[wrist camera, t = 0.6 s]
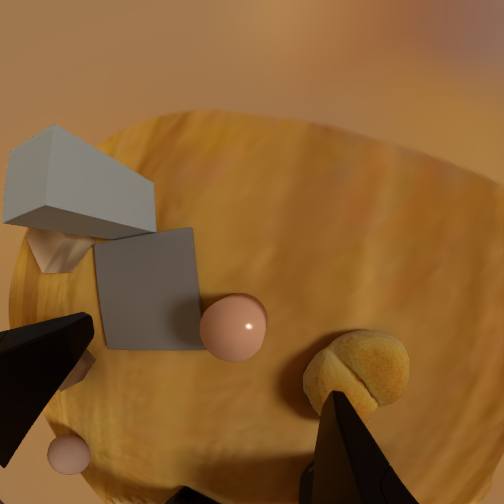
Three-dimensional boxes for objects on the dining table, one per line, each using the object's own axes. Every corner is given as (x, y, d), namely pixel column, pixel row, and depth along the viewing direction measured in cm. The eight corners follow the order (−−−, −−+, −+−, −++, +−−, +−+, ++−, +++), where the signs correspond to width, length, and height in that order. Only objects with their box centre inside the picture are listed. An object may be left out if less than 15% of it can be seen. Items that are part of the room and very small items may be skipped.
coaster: (207, 347, 22) (205, 349, 22) (111, 347, 23) (107, 348, 23) (192, 228, 23) (190, 227, 22) (97, 244, 24) (94, 244, 23)
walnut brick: (96, 359, 24) (73, 370, 20) (83, 379, 24) (60, 391, 20) (63, 317, 24) (38, 322, 20) (51, 339, 24) (28, 346, 20)
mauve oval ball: (64, 435, 24) (34, 455, 17) (75, 421, 24) (42, 443, 17) (90, 463, 23) (63, 487, 17) (104, 451, 23) (75, 478, 16)
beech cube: (72, 272, 24) (42, 273, 20) (55, 241, 25) (26, 237, 20) (95, 241, 24) (65, 237, 19) (76, 210, 24) (47, 203, 20)
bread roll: (414, 373, 20) (433, 390, 16) (333, 428, 21) (340, 453, 17) (375, 304, 21) (393, 312, 17) (286, 366, 22) (286, 386, 18)
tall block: (156, 232, 23) (45, 205, 10) (114, 240, 24) (2, 223, 11) (153, 183, 23) (54, 123, 10) (113, 193, 24) (10, 151, 11)
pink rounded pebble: (248, 355, 22) (241, 373, 18) (203, 325, 22) (188, 337, 18) (278, 312, 22) (277, 323, 18) (232, 282, 22) (221, 286, 18)
